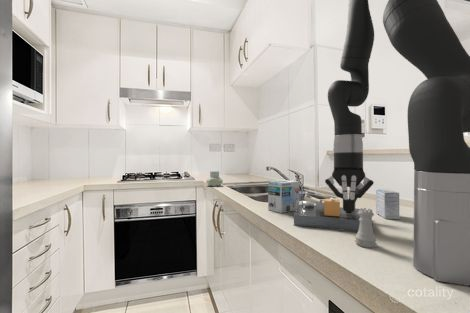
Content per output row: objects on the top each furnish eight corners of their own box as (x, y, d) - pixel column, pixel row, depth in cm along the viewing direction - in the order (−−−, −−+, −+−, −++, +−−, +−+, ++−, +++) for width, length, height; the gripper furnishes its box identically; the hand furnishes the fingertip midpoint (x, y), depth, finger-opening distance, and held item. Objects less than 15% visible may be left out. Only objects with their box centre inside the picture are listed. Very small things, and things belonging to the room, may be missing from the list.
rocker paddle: (336, 212, 73) (338, 207, 73) (303, 199, 76) (304, 195, 76) (335, 209, 77) (337, 205, 77) (304, 197, 80) (305, 193, 80)
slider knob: (339, 216, 68) (339, 200, 68) (324, 215, 70) (324, 199, 70) (338, 213, 72) (339, 197, 72) (324, 212, 73) (324, 196, 73)
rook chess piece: (365, 249, 53) (365, 211, 53) (350, 242, 57) (350, 207, 57) (381, 247, 54) (382, 210, 54) (365, 240, 58) (366, 206, 58)
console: (372, 233, 64) (372, 210, 64) (293, 225, 71) (294, 204, 71) (363, 218, 80) (363, 199, 80) (299, 212, 86) (299, 195, 87)
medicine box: (399, 220, 78) (400, 192, 78) (384, 219, 79) (384, 192, 79) (389, 214, 86) (389, 189, 86) (375, 213, 87) (375, 189, 87)
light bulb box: (281, 213, 85) (281, 182, 85) (267, 210, 91) (267, 181, 91) (300, 209, 92) (300, 180, 92) (285, 206, 97) (286, 179, 97)
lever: (354, 211, 77) (365, 184, 76) (345, 207, 78) (356, 181, 77) (353, 209, 80) (364, 183, 78) (344, 206, 80) (355, 180, 79)
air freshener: (222, 185, 168) (222, 170, 168) (222, 186, 160) (223, 171, 160) (206, 185, 168) (206, 170, 168) (206, 186, 159) (206, 171, 159)
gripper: (323, 151, 68) (323, 213, 68) (377, 150, 64) (377, 217, 64) (323, 152, 75) (323, 208, 75) (372, 151, 71) (372, 211, 71)
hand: (348, 212), depth 69 cm, fingers closed
